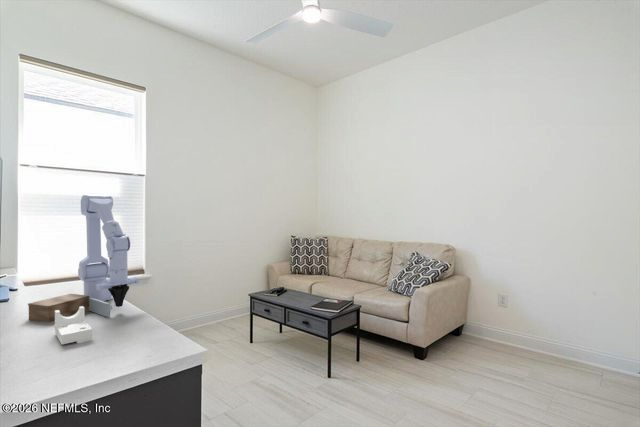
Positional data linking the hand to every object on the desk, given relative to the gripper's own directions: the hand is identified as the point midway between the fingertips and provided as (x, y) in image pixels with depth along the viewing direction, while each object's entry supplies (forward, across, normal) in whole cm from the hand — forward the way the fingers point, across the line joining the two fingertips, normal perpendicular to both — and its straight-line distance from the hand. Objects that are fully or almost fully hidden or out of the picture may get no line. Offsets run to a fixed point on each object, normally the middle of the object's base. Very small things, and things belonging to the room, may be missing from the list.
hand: (118, 306), depth 126 cm
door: (+2, -4, +5) cm, 7 cm away
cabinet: (+2, -12, +16) cm, 20 cm away
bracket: (+3, -21, -12) cm, 24 cm away
